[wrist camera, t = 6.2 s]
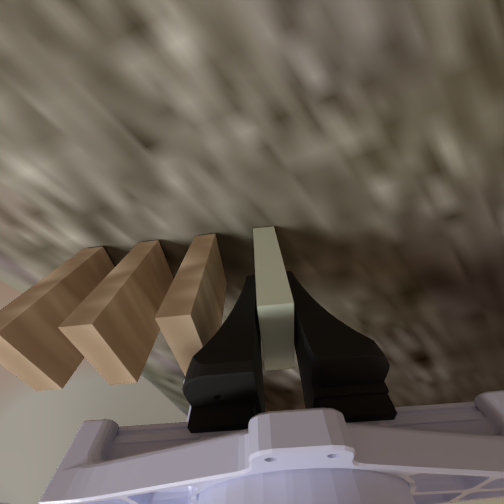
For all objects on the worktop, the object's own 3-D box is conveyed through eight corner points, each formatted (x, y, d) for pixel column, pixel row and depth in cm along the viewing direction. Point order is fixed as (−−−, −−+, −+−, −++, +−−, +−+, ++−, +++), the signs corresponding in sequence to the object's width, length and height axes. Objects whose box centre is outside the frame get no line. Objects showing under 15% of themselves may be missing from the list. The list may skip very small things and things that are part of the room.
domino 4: (273, 226, 16) (293, 303, 9) (276, 277, 18) (294, 368, 11) (253, 228, 16) (256, 306, 9) (258, 279, 18) (265, 370, 11)
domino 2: (158, 240, 16) (91, 324, 9) (177, 288, 19) (137, 382, 12) (138, 242, 16) (57, 327, 9) (160, 290, 19) (110, 384, 12)
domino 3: (215, 233, 16) (190, 314, 9) (226, 283, 18) (214, 376, 12) (194, 236, 16) (154, 318, 9) (209, 285, 18) (186, 378, 12)
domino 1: (102, 246, 16) (-3, 333, 9) (129, 293, 19) (62, 388, 12) (83, 248, 16) (-36, 336, 9) (113, 295, 19) (36, 390, 12)
